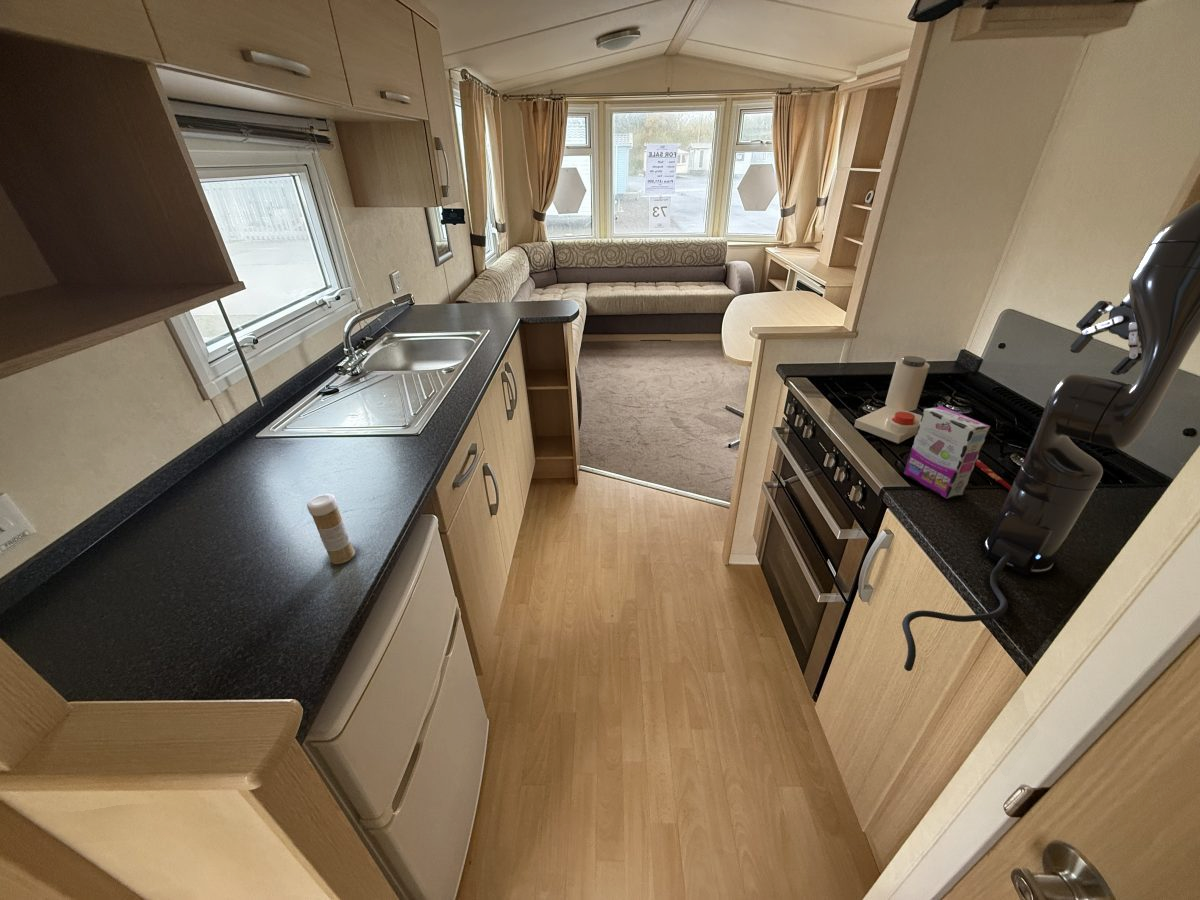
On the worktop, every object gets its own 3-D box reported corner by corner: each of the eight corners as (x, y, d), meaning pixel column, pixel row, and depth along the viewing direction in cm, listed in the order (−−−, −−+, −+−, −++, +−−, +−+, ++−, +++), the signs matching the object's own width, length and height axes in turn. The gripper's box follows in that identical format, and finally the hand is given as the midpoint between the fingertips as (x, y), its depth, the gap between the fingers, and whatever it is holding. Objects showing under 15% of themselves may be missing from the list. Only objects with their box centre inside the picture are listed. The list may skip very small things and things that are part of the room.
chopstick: (1023, 504, 98) (1025, 500, 97) (950, 447, 119) (951, 443, 118) (1033, 503, 98) (1035, 500, 97) (958, 446, 118) (959, 443, 118)
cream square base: (902, 445, 120) (907, 431, 118) (853, 426, 130) (857, 413, 128) (935, 428, 128) (940, 414, 126) (886, 411, 138) (890, 398, 136)
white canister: (907, 413, 127) (921, 366, 121) (879, 404, 133) (891, 358, 126) (922, 406, 131) (937, 359, 124) (894, 397, 136) (907, 352, 130)
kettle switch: (906, 427, 121) (909, 420, 120) (889, 421, 124) (891, 414, 123) (916, 423, 123) (918, 415, 122) (898, 417, 126) (900, 410, 125)
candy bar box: (964, 495, 101) (992, 426, 93) (946, 500, 100) (973, 430, 92) (919, 469, 111) (941, 404, 103) (902, 473, 110) (923, 408, 101)
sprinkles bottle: (335, 550, 94) (312, 493, 87) (359, 548, 94) (338, 491, 88) (326, 566, 90) (301, 508, 83) (351, 564, 90) (328, 506, 84)
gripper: (1115, 269, 92) (1049, 344, 102) (1199, 301, 81) (1117, 381, 92) (1139, 272, 94) (1073, 346, 104) (1224, 304, 84) (1141, 382, 94)
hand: (1093, 362), depth 98 cm, fingers open, 8 cm apart
